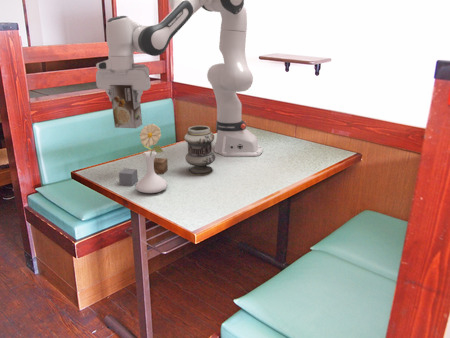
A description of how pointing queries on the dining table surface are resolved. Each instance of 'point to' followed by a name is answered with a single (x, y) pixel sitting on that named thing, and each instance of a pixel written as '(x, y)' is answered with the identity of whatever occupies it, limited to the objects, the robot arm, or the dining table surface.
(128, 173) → the slate grey block
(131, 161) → the dining table surface
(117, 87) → the coffee box
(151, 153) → the flower in vase
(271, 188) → the dining table surface
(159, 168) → the walnut block
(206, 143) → the apothecary jar
